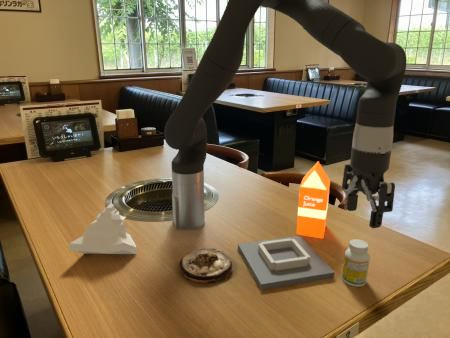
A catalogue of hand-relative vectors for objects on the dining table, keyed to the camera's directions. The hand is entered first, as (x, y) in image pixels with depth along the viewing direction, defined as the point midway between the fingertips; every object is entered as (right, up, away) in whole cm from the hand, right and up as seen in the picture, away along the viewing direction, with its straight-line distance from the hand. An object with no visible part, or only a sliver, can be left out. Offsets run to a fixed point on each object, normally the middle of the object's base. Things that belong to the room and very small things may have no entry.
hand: (362, 218), depth 80 cm
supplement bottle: (0, -15, +5) cm, 16 cm away
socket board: (-15, -13, +12) cm, 23 cm away
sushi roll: (-34, -14, +10) cm, 38 cm away
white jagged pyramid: (-60, -11, +17) cm, 63 cm away
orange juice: (-5, -7, +29) cm, 30 cm away
